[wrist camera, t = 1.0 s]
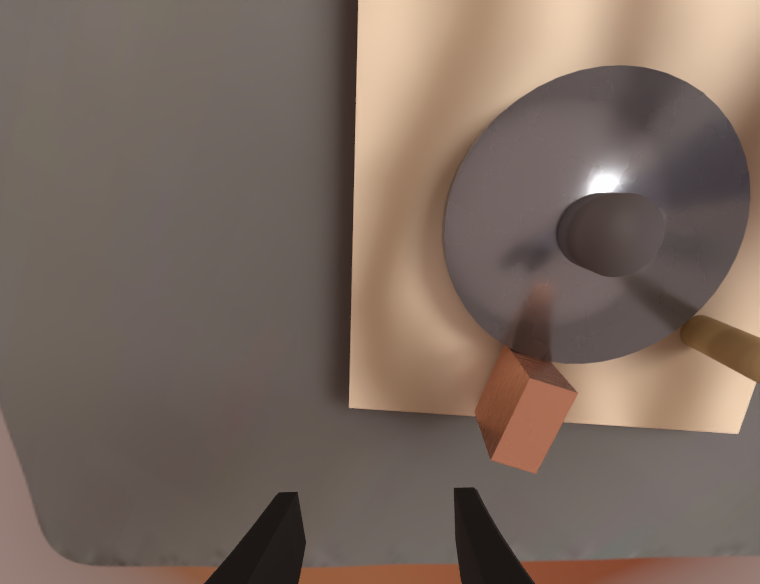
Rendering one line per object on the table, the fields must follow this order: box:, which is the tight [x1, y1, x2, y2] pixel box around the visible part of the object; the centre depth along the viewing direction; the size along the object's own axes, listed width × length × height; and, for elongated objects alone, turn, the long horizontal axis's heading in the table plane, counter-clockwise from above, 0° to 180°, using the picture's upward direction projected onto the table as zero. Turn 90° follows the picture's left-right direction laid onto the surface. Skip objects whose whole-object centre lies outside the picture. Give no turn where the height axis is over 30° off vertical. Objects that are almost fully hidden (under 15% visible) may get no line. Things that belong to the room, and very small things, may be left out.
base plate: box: [349, 0, 760, 434], centre depth 16 cm, size 20×20×5 cm
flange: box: [442, 65, 750, 474], centre depth 15 cm, size 16×12×4 cm
